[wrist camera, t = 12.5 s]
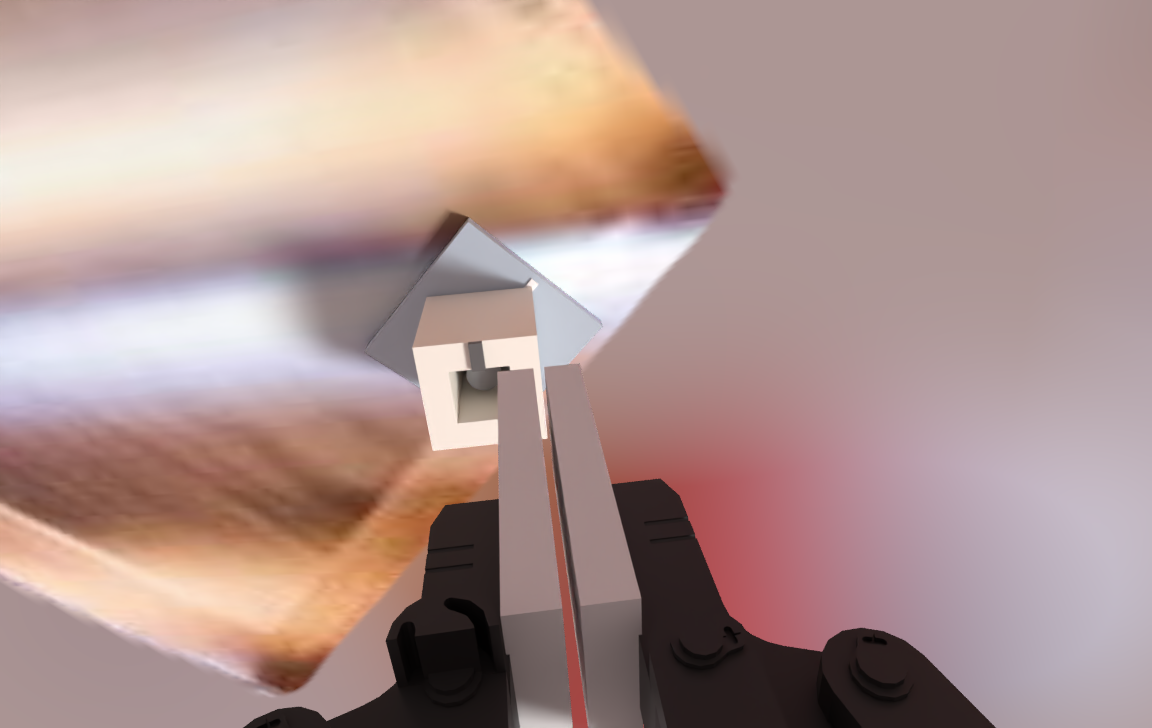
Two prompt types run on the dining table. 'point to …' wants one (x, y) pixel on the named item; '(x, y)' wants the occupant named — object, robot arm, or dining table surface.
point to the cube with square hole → (473, 361)
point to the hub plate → (479, 268)
